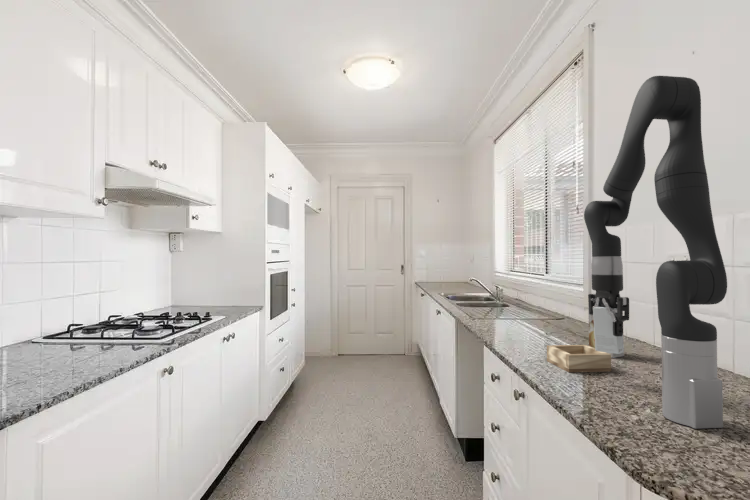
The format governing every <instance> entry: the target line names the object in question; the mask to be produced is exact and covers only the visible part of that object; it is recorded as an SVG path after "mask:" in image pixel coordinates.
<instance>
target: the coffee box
mask: <svg viewBox="0 0 750 500" xmlns="http://www.w3.org/2000/svg"><path fill="white" fill-rule="evenodd" d="M593 308H594V306H593ZM587 311H588V312H587V314H588V318H587V319H588V346H590V347H593V348H595V335H594V317H593V315H590V314H589V307H588V308H587ZM622 314H623V315H624V311H623V312H622ZM623 342H625V341H624V339H623ZM606 353H608V352H606ZM609 354H611V359H613V358H614V359H615V358H621V357H624V356H625V351H624V352H623V353H621V354H615V353H609Z"/></svg>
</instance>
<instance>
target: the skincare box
mask: <svg viewBox="0 0 750 500" xmlns="http://www.w3.org/2000/svg"><path fill="white" fill-rule="evenodd" d="M593 307H594V306H593ZM611 309H612V310H617V308H611ZM615 315H616V317H617V313H615ZM593 317H594V335H595V350H596V351H601V352H608V353H615V354H621V353H623V352H624V353H625V347H624V346H625V345H624V342H625V341H624V342H623V340H624V334H623V335H622V336H614V335H613V322H614V321H613V319H612V317H611V315H610V314H608V311H607V309H606V308H605V307H594V308H593Z"/></svg>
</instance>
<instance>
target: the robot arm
mask: <svg viewBox="0 0 750 500" xmlns="http://www.w3.org/2000/svg"><path fill="white" fill-rule="evenodd" d="M701 97H702V96H701V89H700V86H699V83H698V82H697V81H696V80H695V79H693V78H691V77H686V76H685V77H684V76H672V75H671V76H670V75H654V76H651V77H649V78H648V79H646V80H645V81H644V82H643V83H642V84H641V86H640V88H639V89H638V90H637V93H636V95H635V98H634V100H633V103H632V107H631V110H630V114H629V116H628V120H627V124H626V126H625V130H624V134H623V138H622V141H621V145H620V147H619V150H618V154H617V156H616V159H615V161H614V163H613V166H612V168H611V170H610V172H609V173H608V175H607V178H606V180H605V183H604V184H603V192H604V194H606V195H607V196H609V197H610V198H612V199H611V200H593V201H591V202H588V204H587V205H586V206H585V209H584V212H583V219H584V223H585V226H586V229H587V232H588V235H589V236H588V237H589V238H590V242H591V262H590V263H591V264H590V265H591V266H590V269H591V272H590V273H591V275H590V276H591V289H592V290H593V291H595V293H589V294H588V295H587V296H588V299H587V300H588V308H589V314H590V315H593V307H605V308H606V309H607V311H608V314H610V315H611V317H612V319H613V321H614V322H613V335H614V336H622V335H623V336H624V322H625V321H630V298H629V297H628V296H625V297H624V296H622V297H621V294H620V292H622V291H624V267H623V265H624V264H623V260H622V259H623V258H622V241H621V238H620V236H618V235H615V234H611V233H609V232H608V230H607V227H618V226H619V227H620V226H621V225H622V224H623V223H624V222H625V221H627V219H628V217H629V214H630V208H631V205H632V204H631V203H632V199H633V193H634V191H635V189H636V187H637V186H638V185H639V182H640V180H641V179H642V177H643V174H644V172H645V168H646V152H645V137H646V134H647V131H648V129H649V127H650V126H651V123H652V122H653V121H654V120H662V121H663V120H664V121H667V124H668V128H669V130H668V131H669V143H668V147H667V149H666V151H665V153H664V155H662V157H661V159H660V161H659V162H658V165H657V166H656V169H655V172H654V189H655V197H656V203H657V206H658V207H659V210H660V211H661V213H662V214H663V215H664V217H665V218H666V219H667V221H669V222H670V223H671V225H672V226H673V227H674V228H675V229H676V230H677V231H678V232H679V234H680V236H681V237H682V239H683V240H684V242H685V245H686V249H687V250H688V255H689V260H667V261H664V262H663V263H661V264H660V266H659V268H658V270H657V273H656V277H655V286H656V287H655V288H656V290H655V291H656V300H657V315H658V316H657V317H658V320H659V325H660V330H661V331H660V333H661V334H660V335H661V336H660V338H661V395H662V396H661V398H662V403H661V404H662V407H661V408H662V410H661V411H662V413H661V414H662V415H663V417H664V418H665V419H668V420H669V421H672V422H674V423H677V424H680V425H684V426H687V427H691V428H693V429H717V428H718V429H719V428H724V417H723V416H724V413H723V412H724V408H723V405H724V404H723V402H724V401H723V380H722V379H721V378H718V331H717V327H716V326H715V325H714V324H712V323H710V322H706V321H704V320H700V319H698V318H697V317H695V316H694V315H693V314H692V311H691V307H690V305H717V304H720V302H722V301H724V299H725V297H726V295H727V291H728V278H727V272H726V267H725V262H724V260H723V256H722V252H721V249H720V246H719V241H718V238H717V234H716V229H715V224H714V219H713V218H714V217H713V213H712V206H711V205H712V204H711V196H710V186H709V180H708V173H707V169H706V163H705V156H704V148H703V147H704V146H703V145H704V144H703V136H702V99H701ZM611 308H617V310H612V309H611ZM622 312H623V314H622ZM615 313H617V317H616V315H615Z"/></svg>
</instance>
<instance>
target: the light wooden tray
mask: <svg viewBox="0 0 750 500" xmlns="http://www.w3.org/2000/svg"><path fill="white" fill-rule="evenodd" d="M546 362H548V363H550V364H552V365H554V366H556V367H558V368H559V369H561V370H563V371H565V372H567V373H594V372H595V373H598V372H604V373H605V372H612V358H611V354H609V353H606V352H601V351H596V350H595V348H593V347H590V346H589V345H587V344H562V345H559V344H555V345H553V344H552V345H551V344H550V345H546Z"/></svg>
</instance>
